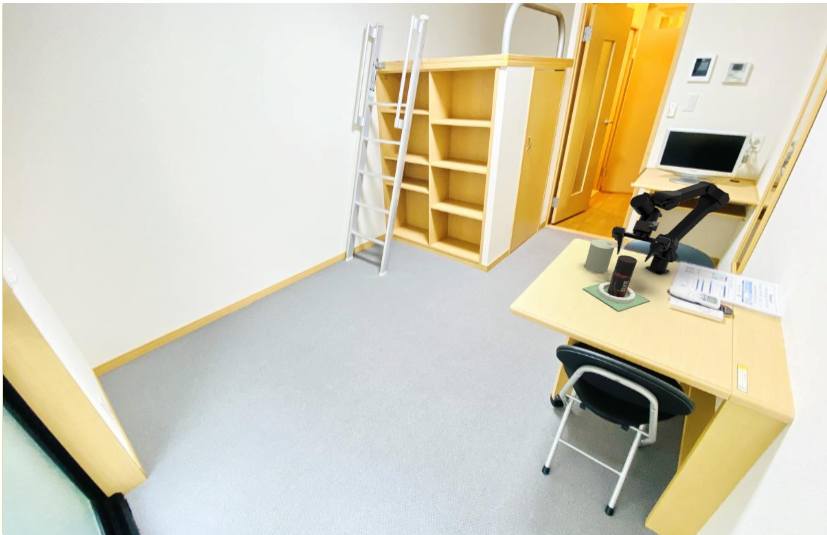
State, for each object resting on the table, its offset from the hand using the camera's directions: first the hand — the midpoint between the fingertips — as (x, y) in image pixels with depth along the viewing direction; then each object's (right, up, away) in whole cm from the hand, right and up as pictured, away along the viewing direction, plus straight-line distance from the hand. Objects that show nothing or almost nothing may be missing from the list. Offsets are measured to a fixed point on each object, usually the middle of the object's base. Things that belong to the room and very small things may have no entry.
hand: (630, 257), depth 128 cm
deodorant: (-5, -14, +2) cm, 15 cm away
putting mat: (-5, -14, +2) cm, 15 cm away
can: (-2, -4, +20) cm, 21 cm away
